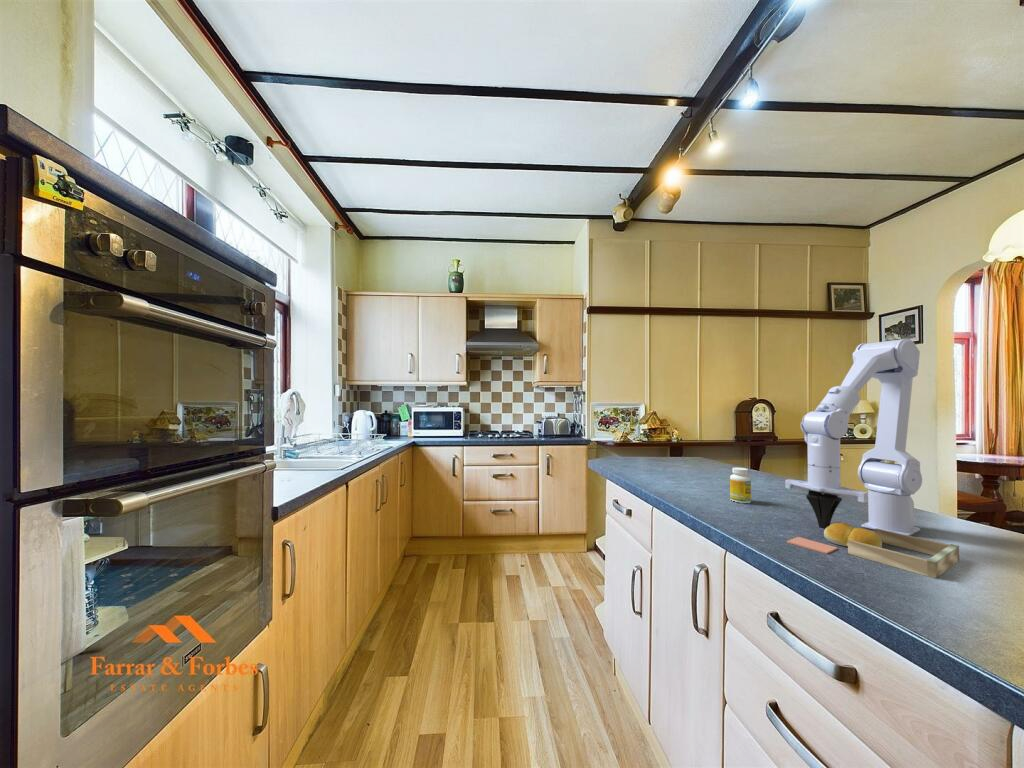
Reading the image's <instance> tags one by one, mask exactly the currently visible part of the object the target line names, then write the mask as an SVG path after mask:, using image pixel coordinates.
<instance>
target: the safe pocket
mask: <svg viewBox="0 0 1024 768" xmlns="http://www.w3.org/2000/svg"><path fill="white" fill-rule="evenodd" d="M874 533H876V534H877V535H878V536H879V537H880V538H881V540H882V544H886V545H887V544H888V545H891V546H895V547H899V548H902V549H906V550H911V551H914V552H919V553H923V554H928V555H931V557H930V558H928V559H926V558H922V557H918V556H914V555H910V554H907V553H902V552H898V551H896V550H895V551H894V550H891V549H886V548H883V547H882V548H880V547H876V546H872V545H868V544H864V543H860V542H856V541H852V540H848V546H847V554H849V555H852V556H855V557H858V558H863V559H865V560H869V561H873V562H877V563H880V564H884V565H888V566H890V567H894V568H898V569H901V570H905V571H908V572H911V573H916V574H919V575H923V576H926V577H930V578H933V579H937V578H938V577H939V576H941V575H942V574H944V573H945V572H946V571H947V570H949V569H950V568H951V567H952V566H955V564H956V563H958V561H960V545H958V544H953V543H951V544H947V543H943V542H938V541H935V540H931V539H925V538H921V537H916V536H912V535H910V536H909V535H904V534H900V533H895V532H891V531H886V530H882V529H878V528H876V529H875V530H874Z"/></svg>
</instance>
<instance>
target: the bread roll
mask: <svg viewBox="0 0 1024 768" xmlns="http://www.w3.org/2000/svg"><path fill="white" fill-rule="evenodd" d="M823 536H824V538H825V539H826V541H828V542H830V543H833V544H835V545H838V546H843V547H848V540H852V541H856V542H860V543H864V544H868V545H872V546H876V547H880V548H883V543H882V540H881V538H880V537H879V536H878V535H877V534H876V533H875V531H873V530H871V529H868V528H864V527H854V526H852V525H850V524H848V523H845V522H840V521H839V522H833V523H830V526H828V527H827V528H826V529H823Z"/></svg>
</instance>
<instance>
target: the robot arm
mask: <svg viewBox="0 0 1024 768" xmlns="http://www.w3.org/2000/svg"><path fill="white" fill-rule="evenodd" d="M920 351H921V350H920V349H919V348H918V347H917V344H915V342H914V341H913V340H911V339H909V338H902V339H896V340H888V341H887V340H886V341H877V342H863V343H860V344H858V345H857V346H856V348H855V350H854V351H853V352H852V362H853V364H852V365H851V367H850V369H849V370H848V372H847V374H846V375H845V377H844V379H843V381H842V382H841V384H840V385H837V386H836V385H835V386H833V387H831V388H829V390H828V391H827V393H826V395H825V396H824V397H823V399H822V400H821V401H820V402H819V404H818V405H817V406H816V408H815V410H814V411H813V410H812V411H811V410H810V411H809V412H807V413H806V414H805V415H803V416H802V419H801V422H800V424H799V425H800V429H801V432H802V433H803V436H804V442H805V443H806V444H807V481H806V480H799V479H798V480H797V479H793V478H788V479H785V482H784V483H785V489H788V490H791V489H792V490H798V491H804V492H807V493H808V494H806V495H805V497H806V499H807V501H808V503H809V504H810V506H811V507H812V510H813V512H814V515H815V517H816V520H817V525H818V528H820V529H823V530H825V529H826V528H827V527H828V526H830V525H831V524H832V523H831V522H832V519H833V516H834V513H835V512H836V509H837V508H838V507H839V505H840V504H841V502H842V500H843V499H846V500H850V501H857V502H859V503H863V504H864V503H867V502H868V504H867V505H868V506H867V507H868V512H867V514H868V521H866V522H865V523H863V524H860V525H861V528H864V529H868V530H874V531H875V529H876V528H878V529H882V530H886V531H891V532H895V533H900V534H904V535H909V536H912V535H914V534H916V533H917V532H919V531H921V528H920V527H917V526H915V503H914V500H913V497H911V495H915V494H916V493H917V492H918V491H919V490H920V489H921V487H922V484H923V475H922V472H921V462H920V461H919V460H918V459H917V458H915V457H914V456H912V455H911V454H910V453H909V452H908V451H906V447H907V440H908V439H907V437H908V431H909V430H908V429H909V428H908V427H909V419H910V408H911V398H912V388H913V379H914V378H915V377H917V376H918V372H919V365H920V358H921V357H920V354H921V353H920ZM871 379H877V380H878V381H879V382H880V383H881V389H880V397H879V407H878V417H877V426H876V435H875V444H874V447H873V448H871V449H869V450H867V451H866V452H864V453H863V454H862V459H861V462H860V464H859V466H858V467H857V476H858V479H859V481H860V482H861V483H862V484H863V485H864V489H867V491H861V490H858V489H857V490H856V489H852V488H847V487H843V486H841V485H842V483H841V480H842V479H841V475H842V473H841V438H843V437H844V436H845V435H846V434H847V432H848V428H849V425H848V424H849V422H850V415H851V414H852V413H853V411H854V410H855V409H856V408H857V406H858V404H859V403H860V401H861V396H860V394H859V392H861V390H863V388H864V387H865V386H866V385H867V384H868V382H870V380H871ZM884 461H887V462H884ZM888 461H890V462H888ZM893 462H894V463H893Z"/></svg>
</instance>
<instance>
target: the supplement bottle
mask: <svg viewBox="0 0 1024 768" xmlns="http://www.w3.org/2000/svg"><path fill="white" fill-rule="evenodd" d="M748 474H749V469H748V468H745V467H732V474H731V475H730V476H729V500H730V501H731V500H732V501H731V502H733V501H735V502H734V503H736V502H740V503H739V504H742V503H748V504H751V503H752V479H751V476H749V475H748Z"/></svg>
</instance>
